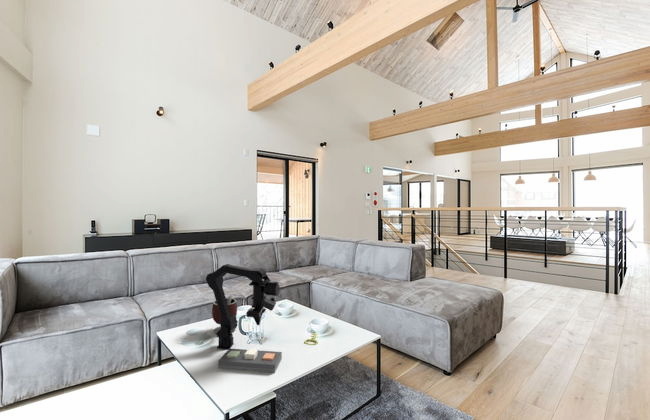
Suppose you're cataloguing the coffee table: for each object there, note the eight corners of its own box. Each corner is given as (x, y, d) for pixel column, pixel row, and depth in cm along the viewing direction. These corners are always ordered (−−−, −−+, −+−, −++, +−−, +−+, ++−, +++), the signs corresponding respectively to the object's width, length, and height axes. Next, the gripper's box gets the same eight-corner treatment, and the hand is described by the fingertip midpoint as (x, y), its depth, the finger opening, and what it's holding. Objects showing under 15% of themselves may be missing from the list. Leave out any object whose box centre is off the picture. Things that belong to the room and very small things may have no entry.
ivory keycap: (244, 359, 141) (244, 353, 141) (248, 354, 145) (248, 349, 145) (254, 360, 140) (254, 354, 140) (257, 355, 145) (257, 349, 145)
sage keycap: (226, 360, 142) (226, 355, 142) (230, 355, 146) (230, 350, 146) (236, 361, 141) (236, 356, 141) (240, 356, 146) (240, 351, 146)
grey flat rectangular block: (218, 368, 138) (218, 360, 138) (229, 355, 150) (229, 348, 150) (274, 372, 136) (275, 364, 136) (281, 359, 148) (281, 352, 147)
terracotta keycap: (262, 363, 140) (262, 357, 140) (265, 358, 145) (265, 353, 144) (272, 364, 139) (272, 358, 139) (275, 359, 144) (275, 353, 144)
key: (317, 335, 176) (317, 332, 176) (318, 346, 163) (318, 342, 163) (304, 336, 175) (304, 332, 175) (304, 346, 163) (304, 342, 163)
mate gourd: (227, 336, 171) (228, 301, 171) (206, 333, 175) (207, 298, 175) (242, 326, 186) (243, 293, 186) (222, 323, 190) (223, 291, 190)
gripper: (269, 300, 145) (268, 333, 146) (279, 290, 164) (278, 319, 164) (246, 299, 147) (245, 332, 147) (258, 289, 165) (258, 318, 165)
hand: (258, 325), depth 156 cm, fingers closed
